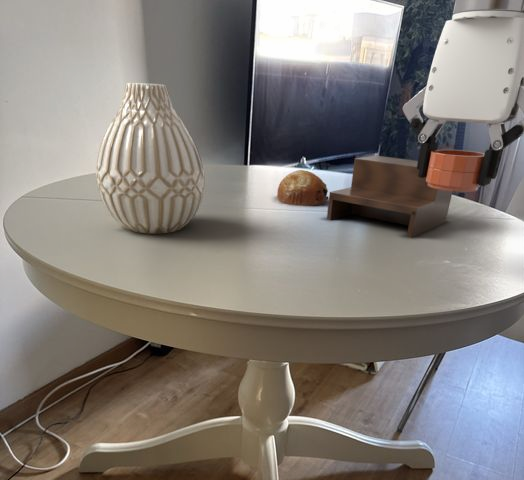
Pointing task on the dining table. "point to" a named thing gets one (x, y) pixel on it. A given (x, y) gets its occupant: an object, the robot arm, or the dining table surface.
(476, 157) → the bowl
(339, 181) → the dining table surface
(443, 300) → the dining table surface
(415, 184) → the shelf
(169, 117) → the vase
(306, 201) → the bread roll
